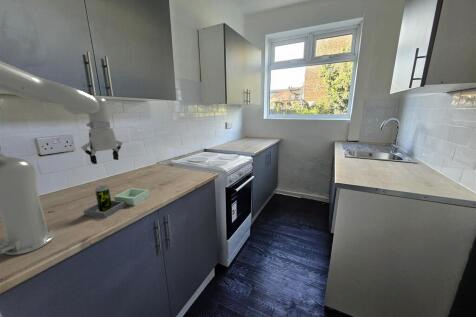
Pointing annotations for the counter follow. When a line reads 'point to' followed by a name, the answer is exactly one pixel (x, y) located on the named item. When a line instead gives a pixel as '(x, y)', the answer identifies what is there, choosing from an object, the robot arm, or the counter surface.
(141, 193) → the green bin
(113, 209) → the tray
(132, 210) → the counter surface
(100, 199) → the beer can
